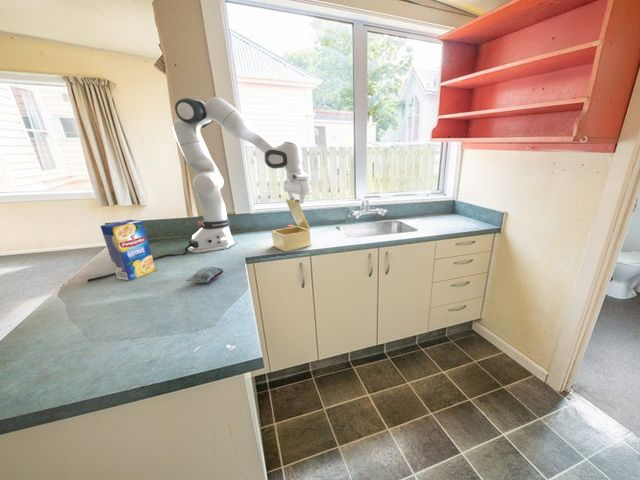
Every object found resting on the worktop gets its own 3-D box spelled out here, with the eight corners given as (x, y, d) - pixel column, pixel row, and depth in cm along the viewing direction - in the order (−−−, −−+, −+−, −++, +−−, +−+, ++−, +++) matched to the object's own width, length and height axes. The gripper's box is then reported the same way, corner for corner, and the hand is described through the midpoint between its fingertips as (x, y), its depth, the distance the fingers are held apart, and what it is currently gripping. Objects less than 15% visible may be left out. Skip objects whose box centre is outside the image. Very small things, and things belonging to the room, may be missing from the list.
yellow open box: (284, 251, 154) (283, 235, 151) (273, 246, 163) (271, 230, 159) (310, 245, 165) (309, 230, 162) (298, 240, 173) (297, 225, 170)
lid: (297, 202, 152) (304, 199, 155) (285, 199, 161) (292, 196, 163) (309, 229, 161) (315, 225, 164) (297, 225, 170) (303, 221, 172)
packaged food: (187, 286, 115) (184, 274, 113) (205, 273, 126) (203, 263, 124) (209, 287, 115) (207, 275, 113) (225, 274, 126) (223, 264, 124)
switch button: (290, 229, 182) (289, 226, 182) (287, 228, 185) (286, 225, 184) (295, 228, 185) (295, 225, 184) (292, 227, 187) (292, 224, 187)
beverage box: (156, 270, 128) (142, 221, 121) (129, 280, 119) (113, 227, 111) (144, 268, 130) (130, 219, 123) (116, 278, 120) (100, 225, 113)
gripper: (279, 174, 159) (282, 199, 163) (299, 177, 145) (301, 205, 150) (290, 173, 163) (292, 198, 168) (310, 176, 149) (312, 203, 154)
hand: (296, 201), depth 159 cm, fingers open, 8 cm apart
